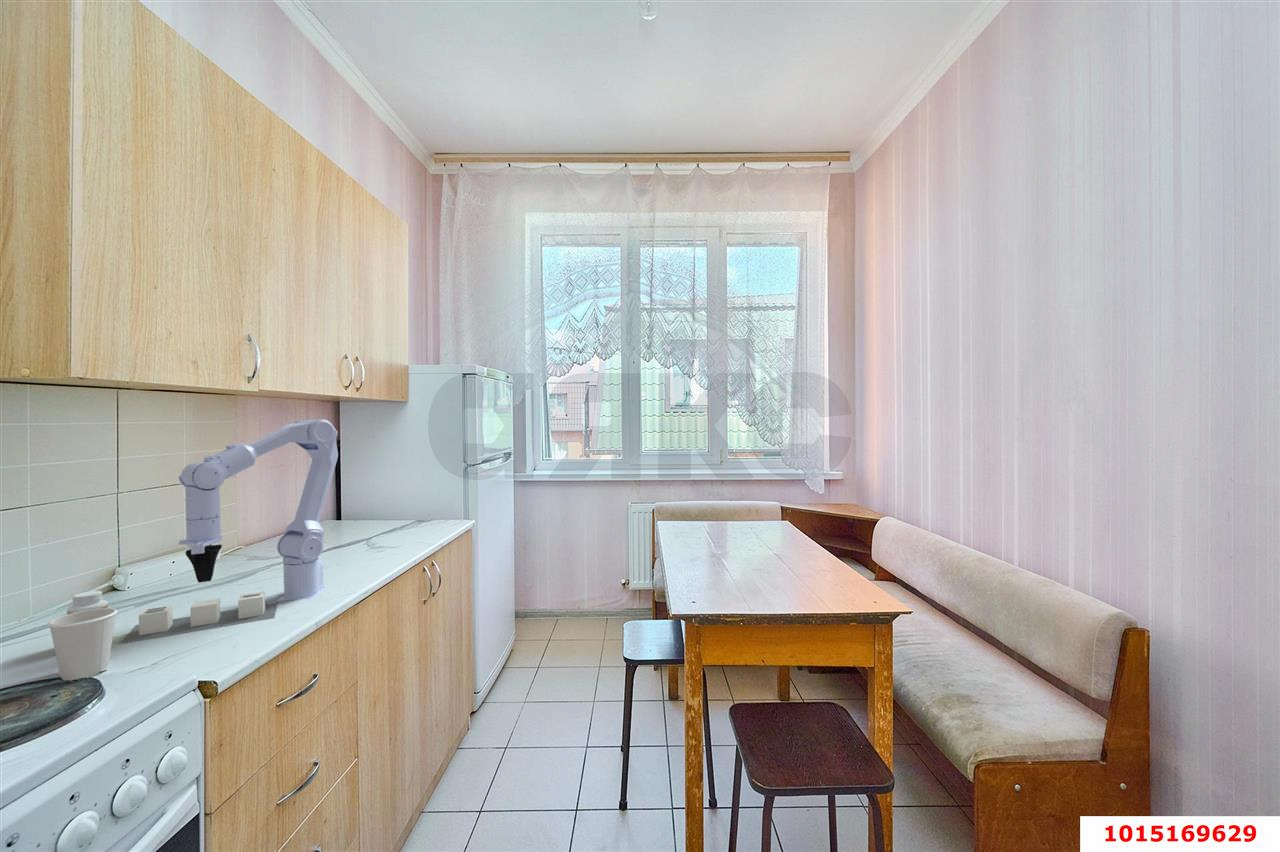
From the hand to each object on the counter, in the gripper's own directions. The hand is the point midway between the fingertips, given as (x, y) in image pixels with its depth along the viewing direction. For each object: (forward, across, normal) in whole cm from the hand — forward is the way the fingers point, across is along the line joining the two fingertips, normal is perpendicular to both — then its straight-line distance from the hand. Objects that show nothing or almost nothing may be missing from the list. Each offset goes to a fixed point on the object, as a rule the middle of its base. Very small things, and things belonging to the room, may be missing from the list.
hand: (204, 581), depth 115 cm
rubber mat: (+9, 0, 0) cm, 9 cm away
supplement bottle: (+10, +1, -18) cm, 20 cm away
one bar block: (+9, 0, +8) cm, 12 cm away
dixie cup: (+10, +18, -14) cm, 25 cm away
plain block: (+9, 0, 0) cm, 9 cm away
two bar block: (+9, 0, -8) cm, 12 cm away
